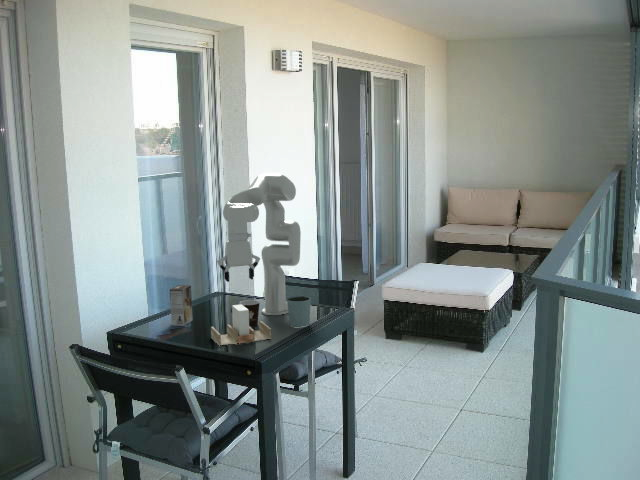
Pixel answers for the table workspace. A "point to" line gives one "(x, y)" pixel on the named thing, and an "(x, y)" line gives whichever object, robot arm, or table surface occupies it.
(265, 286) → the robot arm
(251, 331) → the divider rack
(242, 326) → the white rectangular block
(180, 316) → the coffee box
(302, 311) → the grey plant pot
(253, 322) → the coffee mug
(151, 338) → the table surface
